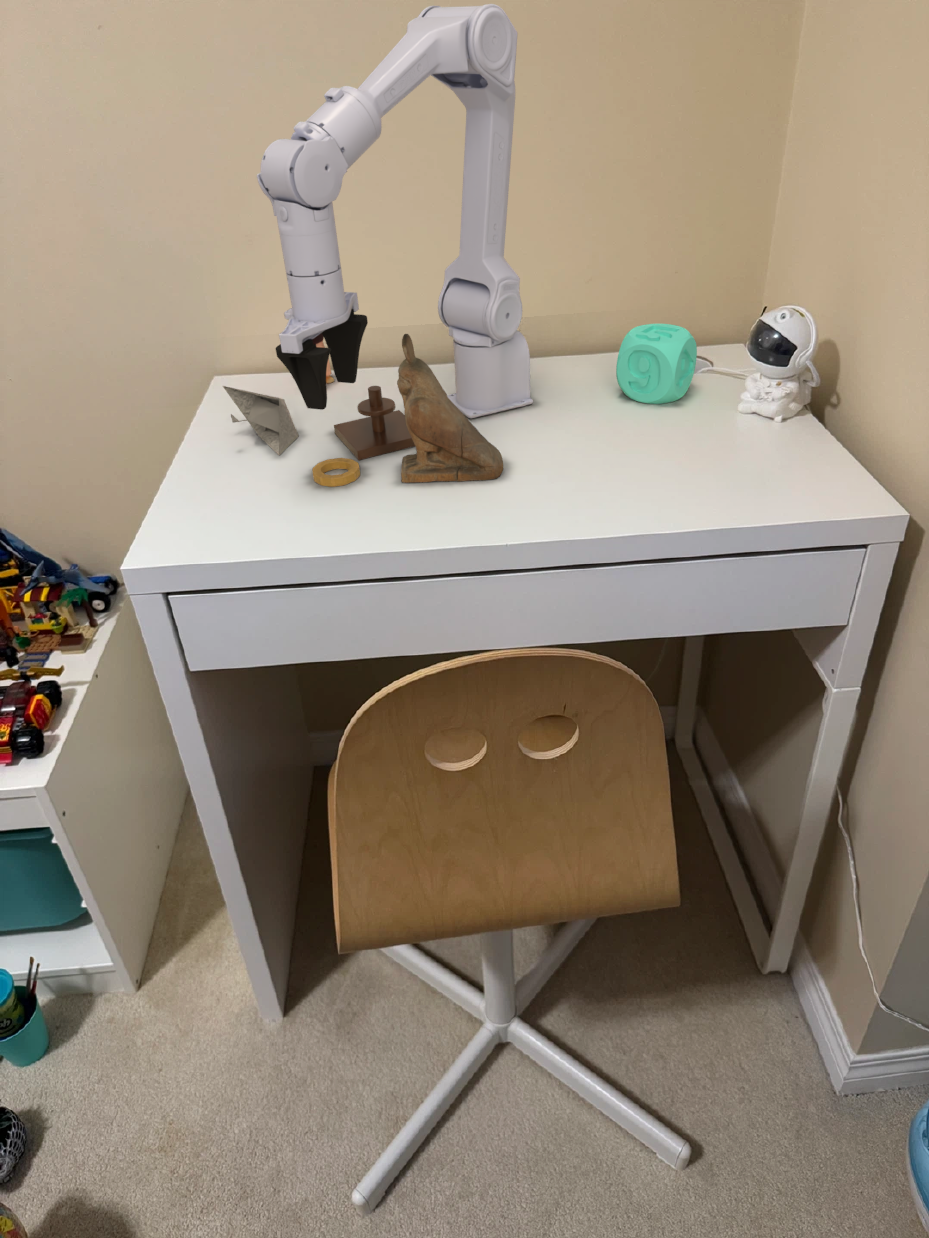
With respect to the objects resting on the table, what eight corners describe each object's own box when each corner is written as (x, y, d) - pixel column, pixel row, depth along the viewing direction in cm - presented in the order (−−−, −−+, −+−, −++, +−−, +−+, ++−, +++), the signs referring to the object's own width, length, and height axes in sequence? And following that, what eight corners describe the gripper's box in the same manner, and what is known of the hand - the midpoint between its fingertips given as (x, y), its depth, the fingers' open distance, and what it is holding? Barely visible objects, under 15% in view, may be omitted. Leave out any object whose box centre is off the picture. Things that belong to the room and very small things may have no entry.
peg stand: (399, 418, 118) (395, 369, 114) (427, 443, 111) (422, 392, 107) (334, 433, 115) (327, 384, 111) (358, 460, 108) (351, 408, 104)
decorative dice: (694, 387, 121) (700, 327, 116) (671, 408, 116) (676, 347, 111) (638, 378, 125) (642, 320, 120) (614, 398, 119) (617, 338, 115)
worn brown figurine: (405, 502, 104) (353, 355, 94) (410, 479, 108) (361, 336, 98) (504, 481, 102) (462, 328, 91) (505, 459, 106) (465, 310, 96)
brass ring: (351, 461, 108) (350, 453, 107) (367, 479, 104) (366, 471, 103) (307, 472, 106) (305, 464, 106) (321, 491, 102) (320, 483, 101)
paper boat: (326, 429, 113) (273, 437, 106) (304, 465, 117) (252, 476, 110) (268, 363, 115) (213, 367, 108) (248, 400, 119) (194, 407, 112)
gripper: (311, 250, 100) (329, 368, 108) (243, 288, 89) (269, 417, 97) (369, 252, 98) (382, 372, 106) (307, 291, 87) (327, 422, 95)
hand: (332, 394), depth 101 cm, fingers open, 7 cm apart
